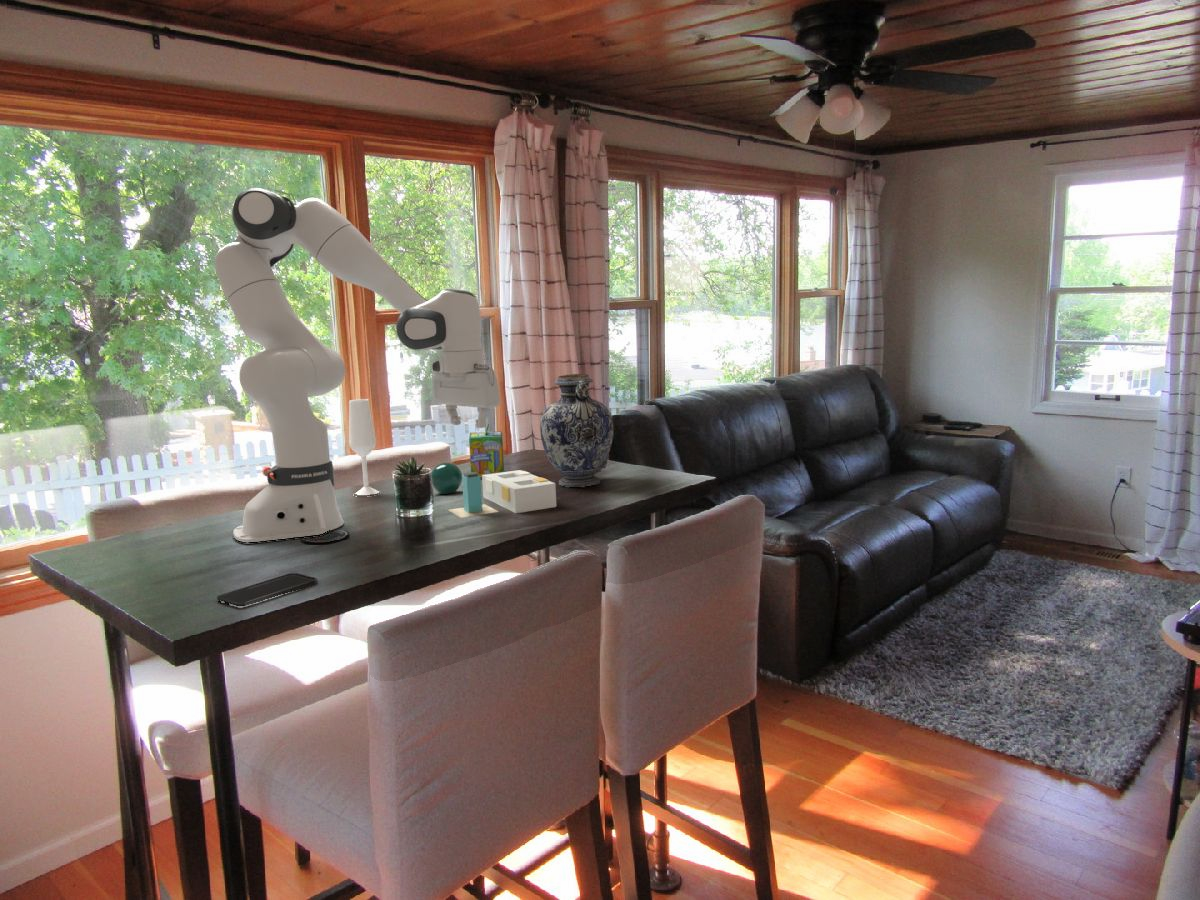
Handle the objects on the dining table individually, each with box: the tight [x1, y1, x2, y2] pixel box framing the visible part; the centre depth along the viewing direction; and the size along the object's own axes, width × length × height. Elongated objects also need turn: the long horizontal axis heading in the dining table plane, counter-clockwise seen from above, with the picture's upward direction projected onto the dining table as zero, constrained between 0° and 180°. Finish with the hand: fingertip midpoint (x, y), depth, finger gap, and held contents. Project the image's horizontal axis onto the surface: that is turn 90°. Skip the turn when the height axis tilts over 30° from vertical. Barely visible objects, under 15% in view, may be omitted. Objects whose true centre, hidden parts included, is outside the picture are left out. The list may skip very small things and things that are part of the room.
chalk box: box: [468, 421, 505, 479], centre depth 239 cm, size 9×9×15 cm
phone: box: [216, 572, 319, 606], centre depth 147 cm, size 8×1×15 cm
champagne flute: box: [348, 398, 380, 495], centre depth 220 cm, size 7×7×24 cm
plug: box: [461, 471, 483, 513], centre depth 196 cm, size 3×3×9 cm
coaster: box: [447, 503, 500, 519], centre depth 197 cm, size 9×9×1 cm
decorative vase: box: [539, 373, 614, 488], centre depth 222 cm, size 21×19×28 cm
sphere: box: [430, 461, 463, 495], centre depth 218 cm, size 8×8×8 cm
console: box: [481, 469, 557, 514], centre depth 204 cm, size 10×20×6 cm, turn 28°
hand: (468, 426), depth 194 cm, fingers open, 8 cm apart
